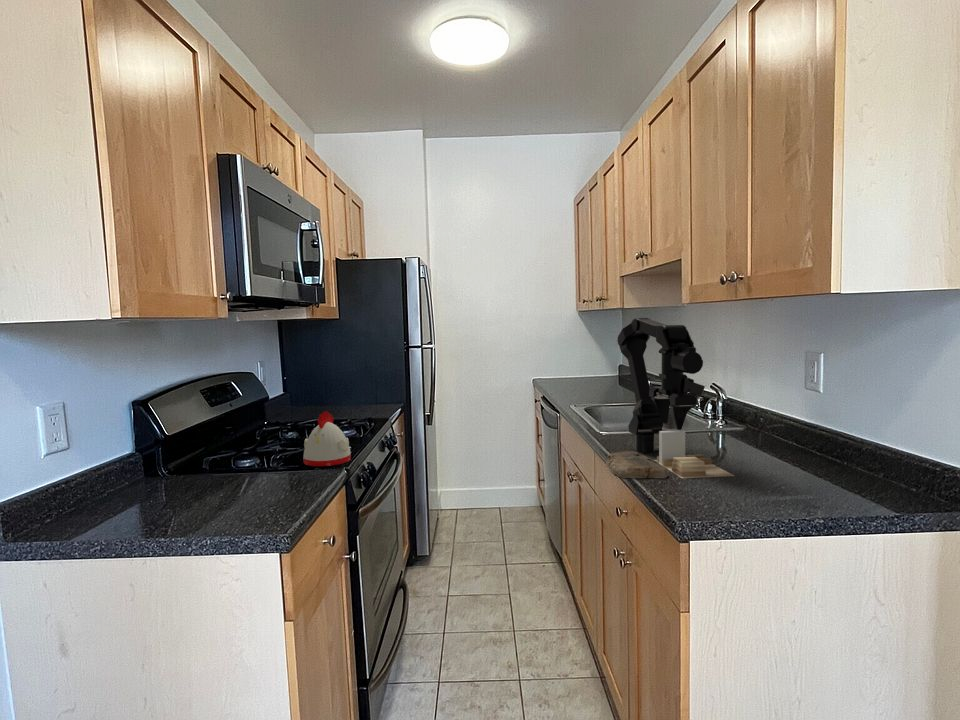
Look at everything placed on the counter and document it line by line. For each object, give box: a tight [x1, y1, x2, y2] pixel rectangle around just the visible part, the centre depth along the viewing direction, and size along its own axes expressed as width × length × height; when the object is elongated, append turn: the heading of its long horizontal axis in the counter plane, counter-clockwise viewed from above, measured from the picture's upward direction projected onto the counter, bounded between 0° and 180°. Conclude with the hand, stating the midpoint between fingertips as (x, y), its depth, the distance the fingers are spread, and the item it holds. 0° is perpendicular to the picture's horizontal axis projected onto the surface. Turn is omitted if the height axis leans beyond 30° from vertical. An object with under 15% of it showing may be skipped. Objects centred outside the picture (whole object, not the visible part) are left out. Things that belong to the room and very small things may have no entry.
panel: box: [658, 429, 686, 466], centre depth 152 cm, size 2×7×9 cm, turn 94°
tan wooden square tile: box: [672, 466, 706, 478], centre depth 142 cm, size 6×6×1 cm
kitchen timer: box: [303, 411, 352, 467], centre depth 166 cm, size 14×14×15 cm
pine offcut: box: [673, 457, 704, 467], centre depth 142 cm, size 5×6×1 cm
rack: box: [653, 454, 735, 479], centre depth 147 cm, size 18×14×2 cm
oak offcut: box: [672, 462, 705, 472], centre depth 142 cm, size 6×6×1 cm
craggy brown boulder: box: [605, 450, 669, 479], centre depth 148 cm, size 14×5×20 cm
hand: (672, 426), depth 151 cm, fingers open, 9 cm apart
